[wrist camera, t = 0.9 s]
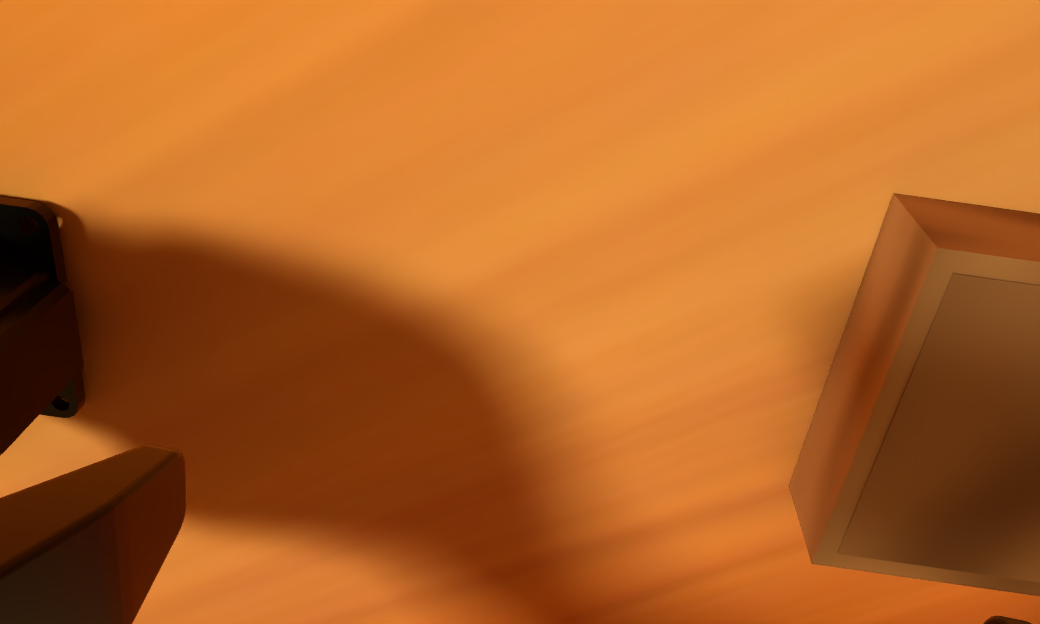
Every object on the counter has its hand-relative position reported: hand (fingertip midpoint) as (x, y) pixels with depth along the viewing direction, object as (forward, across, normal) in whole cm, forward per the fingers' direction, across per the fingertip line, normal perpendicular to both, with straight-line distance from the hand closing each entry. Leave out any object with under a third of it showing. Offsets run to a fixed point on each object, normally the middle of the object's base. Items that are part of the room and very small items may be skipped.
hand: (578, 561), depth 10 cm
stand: (+13, +12, -4) cm, 18 cm away
